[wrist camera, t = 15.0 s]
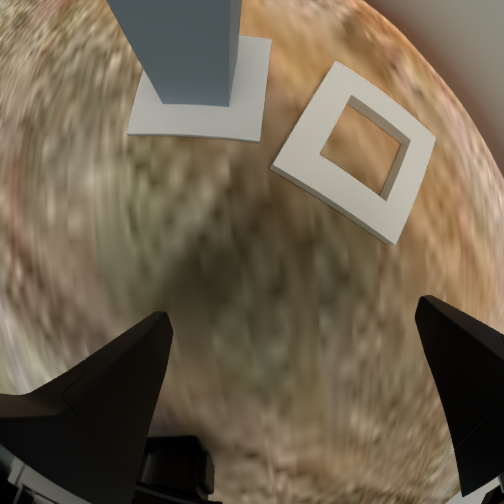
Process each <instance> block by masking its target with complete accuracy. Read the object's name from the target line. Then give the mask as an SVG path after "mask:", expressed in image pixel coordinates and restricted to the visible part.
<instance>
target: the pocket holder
mask: <svg viewBox="0 0 504 504" xmlns="http://www.w3.org/2000/svg"><path fill="white" fill-rule="evenodd" d="M346 103H347V104H348V105H350V106H351V107H353V108H354V109H356V110H357V111H359V112H360V113H361V114H363V115H364V116H366V117H367V118H368V119H370V120H371V121H372V122H374V123H375V124H376V125H378V126H379V127H380V128H382V129H383V130H384V131H386V132H387V133H388V134H389V135H391V136H392V137H393V138H394V139H395V140H397V141H398V142H399V143H400V144H401V147H400V149H399V152H398V154H397V157H396V159H395V162H394V164H393V167H392V169H391V171H390V174H389V176H388V178H387V181H386V183H385V185H384V188H383V190H382V192H381V194H380V196H378V195H377V194H376V193H374V192H373V191H372V190H370V189H369V188H368V187H366V186H365V185H363V184H362V183H361V182H359V181H358V180H357V179H355V178H354V177H352V176H351V175H349V174H348V173H346V172H345V171H344V170H342V169H341V168H339V167H338V166H336V165H335V164H333V163H332V162H330V161H329V160H327V159H325V158H324V157H322V156H321V155H319V154H320V152H321V150H322V148H323V146H324V144H325V143H326V141H327V139H328V137H329V135H330V133H331V131H332V130H333V128H334V126H335V124H336V122H337V120H338V118H339V117H340V115H341V113H342V111H343V109H344V107H345V105H346ZM435 139H436V137H435V136H434V135H432V134H431V133H430V132H429V131H428V130H427V129H426V128H425V127H424V126H423V125H422V124H421V123H420V122H419V121H417V120H416V119H415V118H414V117H413V116H412V115H411V114H409V113H408V112H407V111H406V110H405V109H404V108H402V107H401V106H400V105H399V104H397V103H396V102H395V101H394V100H392V99H391V98H390V97H389V96H387V95H386V94H385V93H383V92H382V91H381V90H379V89H378V88H377V87H375V86H374V85H372V84H371V83H370V82H368V81H367V80H365V79H364V78H362V77H361V76H359V75H358V74H356V73H355V72H353V71H352V70H350V69H349V68H347V67H346V66H344V65H342V64H341V63H339V62H337V61H335V62H334V64H333V65H332V67H331V68H330V70H329V71H328V73H327V74H326V76H325V78H324V79H323V81H322V82H321V84H320V86H319V87H318V89H317V90H316V92H315V94H314V95H313V97H312V99H311V100H310V102H309V103H308V105H307V107H306V108H305V110H304V112H303V113H302V115H301V117H300V118H299V120H298V122H297V123H296V125H295V127H294V128H293V130H292V132H291V133H290V135H289V137H288V138H287V140H286V142H285V143H284V145H283V147H282V148H281V150H280V152H279V154H278V155H277V157H276V159H275V160H274V162H273V164H272V166H271V167H270V169H271V170H272V171H274V172H276V173H277V174H279V175H281V176H283V177H284V178H286V179H288V180H289V181H291V182H293V183H294V184H296V185H298V186H299V187H301V188H303V189H304V190H306V191H308V192H309V193H311V194H312V195H314V196H316V197H317V198H319V199H320V200H322V201H324V202H325V203H327V204H328V205H330V206H331V207H333V208H334V209H336V210H337V211H339V212H340V213H342V214H343V215H345V216H346V217H348V218H349V219H351V220H352V221H354V222H355V223H357V224H358V225H360V226H361V227H363V228H364V229H365V230H367V231H368V232H370V233H371V234H373V235H374V236H375V237H377V238H378V239H380V240H381V241H382V242H384V243H385V244H390V245H396V243H397V241H398V239H399V236H400V234H401V232H402V230H403V227H404V225H405V223H406V221H407V218H408V216H409V213H410V211H411V208H412V206H413V203H414V201H415V198H416V196H417V193H418V191H419V188H420V185H421V182H422V180H423V177H424V174H425V171H426V168H427V165H428V162H429V159H430V156H431V153H432V150H433V146H434V143H435Z"/></svg>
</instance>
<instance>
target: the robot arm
mask: <svg viewBox="0 0 504 504" xmlns="http://www.w3.org/2000/svg"><path fill="white" fill-rule="evenodd" d="M415 322H416V325H417V328H418V332H419V335H420V339H421V342H422V346H423V349H424V353H425V356H426V359H427V361H428V364H429V367H430V369H431V372H432V375H433V378H434V381H435V384H436V387H437V390H438V393H439V396H440V399H441V402H442V405H443V409H444V412H445V416H446V419H447V423H448V427H449V431H450V434H451V439H452V443H453V447H454V449H455V450H454V452H455V457H456V462H457V468H458V473H459V479H460V486H461V493H462V497H464V496H466V495H468V494H470V493H472V492H474V491H475V490H477V489H479V488H480V487H482V486H484V485H485V484H487V483H488V482H490V481H492V480H493V479H495V478H496V477H498V479H499V482H500V485H498V486H497V487H495V488H494V489H493V490H491V491H490V492H488V493H486V495H485V497H484V499H483V501H482V503H481V504H504V335H503V334H502V333H500V332H498V331H496V330H495V329H493V328H491V327H489V326H488V325H486V324H484V323H482V322H480V321H479V320H477V319H475V318H473V317H471V316H470V315H468V314H466V313H464V312H462V311H460V310H458V309H457V308H455V307H453V306H451V305H449V304H447V303H445V302H443V301H442V300H440V299H438V298H436V297H434V296H432V295H425V296H421V297H420V299H419V302H418V306H417V309H416V313H415ZM172 338H173V329H172V326H171V323H170V320H169V317H168V314H167V313H166V312H165V311H155V312H154V313H152V314H151V315H149V316H148V317H146V318H145V319H143V320H142V321H140V322H139V323H137V324H136V325H134V326H133V327H131V328H130V329H129V330H127V331H126V332H124V333H123V334H121V335H120V336H118V337H117V338H115V339H114V340H112V341H111V342H110V343H108V344H107V345H105V346H104V347H102V348H101V349H99V350H98V351H96V352H95V353H93V354H92V355H90V356H89V357H88V358H86V359H85V360H83V361H82V362H80V363H79V364H77V365H76V366H74V367H73V368H71V369H70V370H68V371H67V372H65V373H63V374H62V375H60V376H58V377H57V378H55V379H53V380H51V381H50V382H48V383H46V384H44V385H43V386H41V387H39V388H37V389H36V390H34V391H32V392H30V393H27V394H24V395H10V394H1V393H0V504H223V503H222V502H219V501H216V502H214V501H209V500H208V495H211V494H213V493H214V474H215V470H214V464H213V462H212V460H211V458H210V456H209V454H208V453H207V452H206V451H204V450H203V448H202V446H201V444H200V442H199V440H198V438H197V437H195V436H186V437H168V438H147V435H148V431H149V428H150V424H151V421H152V417H153V414H154V410H155V407H156V403H157V400H158V396H159V393H160V390H161V386H162V383H163V380H164V377H165V373H166V369H167V364H168V359H169V354H170V348H171V343H172ZM192 440H193V441H192Z"/></svg>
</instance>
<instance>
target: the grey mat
mask: <svg viewBox="0 0 504 504" xmlns="http://www.w3.org/2000/svg"><path fill="white" fill-rule="evenodd" d="M271 41H272V39H265V38H258V37H249V36H239V43H238V57H237V62H236V68H235V73H234V79H233V85H232V91H231V97H230V103H229V107H222V106H208V105H187V104H163V103H162V102H161V100H160V98H159V96H158V94H157V92H156V91H155V89H154V87H153V85H152V83H151V82H150V80H149V78H148V76H147V74H146V72H145V71H144V70H143V73H142V76H141V80H140V83H139V86H138V90H137V93H136V97H135V100H134V104H133V108H132V112H131V116H130V120H129V125H128V129H127V135H128V136H181V137H199V138H213V139H224V140H234V141H243V142H252V143H259V142H260V136H261V127H262V118H263V110H264V101H265V92H266V84H267V75H268V66H269V58H270V49H271Z"/></svg>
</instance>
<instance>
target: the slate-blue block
mask: <svg viewBox="0 0 504 504" xmlns="http://www.w3.org/2000/svg"><path fill="white" fill-rule="evenodd" d="M106 1H107V2H108V4H109V6H110V8H111V10H112V12H113V14H114V15H115V17H116V19H117V21H118V23H119V25H120V27H121V28H122V30H123V32H124V34H125V36H126V38H127V39H128V41H129V43H130V45H131V47H132V49H133V50H134V52H135V54H136V56H137V58H138V60H139V61H140V63H141V65H142V67H143V69H144V71H145V72H146V74H147V76H148V78H149V80H150V82H151V83H152V85H153V87H154V89H155V91H156V92H157V94H158V96H159V98H160V100H161V102H162V103H163V104H187V105H208V106H222V107H229V103H230V97H231V91H232V85H233V79H234V73H235V68H236V62H237V57H238V43H239V29H240V16H241V4H242V0H106Z"/></svg>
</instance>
